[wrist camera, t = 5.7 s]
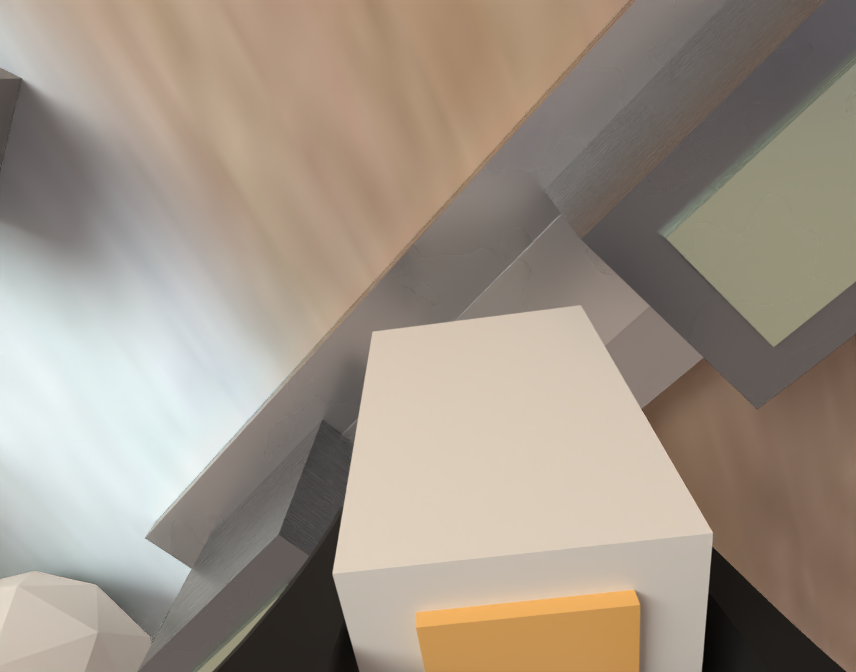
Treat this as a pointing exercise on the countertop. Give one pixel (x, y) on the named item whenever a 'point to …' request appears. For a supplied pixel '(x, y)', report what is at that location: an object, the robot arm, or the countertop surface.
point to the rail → (575, 268)
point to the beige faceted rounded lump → (65, 627)
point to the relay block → (7, 106)
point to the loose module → (515, 509)
